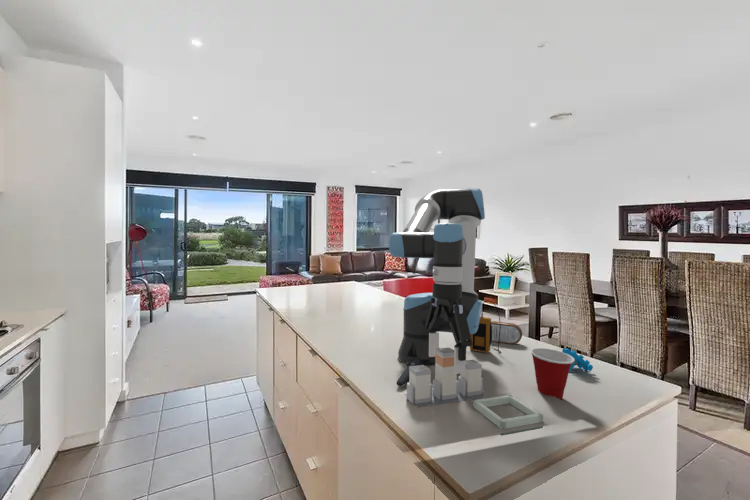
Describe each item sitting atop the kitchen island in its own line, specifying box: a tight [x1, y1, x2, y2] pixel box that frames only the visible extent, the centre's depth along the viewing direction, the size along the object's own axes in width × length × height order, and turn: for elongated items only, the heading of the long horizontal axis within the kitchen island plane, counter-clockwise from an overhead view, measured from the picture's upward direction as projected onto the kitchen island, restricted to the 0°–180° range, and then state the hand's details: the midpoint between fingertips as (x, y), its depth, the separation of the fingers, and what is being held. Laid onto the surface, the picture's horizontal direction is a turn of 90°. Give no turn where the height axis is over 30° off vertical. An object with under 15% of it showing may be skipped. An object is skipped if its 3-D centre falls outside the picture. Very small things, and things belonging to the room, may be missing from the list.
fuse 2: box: [434, 347, 458, 400], centre depth 95 cm, size 4×4×12 cm
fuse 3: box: [459, 359, 483, 396], centre depth 97 cm, size 4×4×8 cm
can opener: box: [396, 359, 421, 387], centre depth 106 cm, size 18×7×6 cm, turn 152°
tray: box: [472, 394, 544, 437], centre depth 85 cm, size 11×11×3 cm
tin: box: [491, 320, 523, 345], centre depth 150 cm, size 15×3×8 cm, turn 65°
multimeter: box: [469, 300, 502, 354], centre depth 141 cm, size 15×10×20 cm
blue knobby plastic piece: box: [561, 347, 594, 373], centre depth 118 cm, size 11×6×10 cm
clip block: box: [404, 375, 488, 408], centre depth 95 cm, size 8×21×6 cm, turn 108°
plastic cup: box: [530, 347, 575, 401], centre depth 98 cm, size 11×11×12 cm
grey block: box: [408, 365, 432, 404], centre depth 92 cm, size 4×4×8 cm
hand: (445, 364), depth 94 cm, fingers open, 13 cm apart
